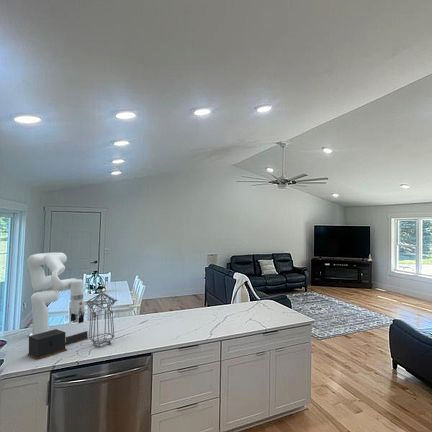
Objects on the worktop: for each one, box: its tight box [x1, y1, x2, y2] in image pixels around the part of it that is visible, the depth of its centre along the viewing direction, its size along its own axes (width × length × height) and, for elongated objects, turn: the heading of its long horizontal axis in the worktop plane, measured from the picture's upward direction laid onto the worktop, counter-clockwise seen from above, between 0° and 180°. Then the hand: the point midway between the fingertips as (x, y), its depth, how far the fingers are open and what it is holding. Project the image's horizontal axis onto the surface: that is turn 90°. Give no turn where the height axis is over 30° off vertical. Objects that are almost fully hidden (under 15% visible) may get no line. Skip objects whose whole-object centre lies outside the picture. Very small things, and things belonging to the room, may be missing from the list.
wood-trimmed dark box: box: [27, 328, 67, 360], centre depth 212 cm, size 14×16×12 cm
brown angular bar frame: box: [65, 330, 88, 346], centre depth 234 cm, size 13×14×5 cm
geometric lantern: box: [85, 292, 119, 348], centre depth 226 cm, size 16×16×35 cm
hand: (77, 321), depth 231 cm, fingers open, 9 cm apart
